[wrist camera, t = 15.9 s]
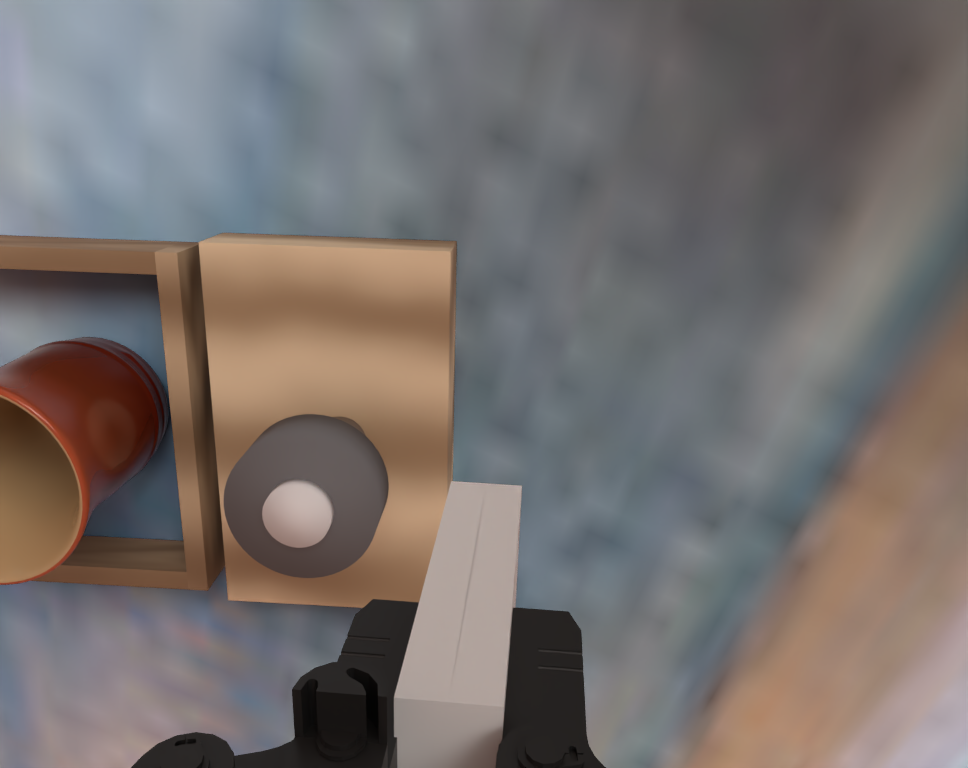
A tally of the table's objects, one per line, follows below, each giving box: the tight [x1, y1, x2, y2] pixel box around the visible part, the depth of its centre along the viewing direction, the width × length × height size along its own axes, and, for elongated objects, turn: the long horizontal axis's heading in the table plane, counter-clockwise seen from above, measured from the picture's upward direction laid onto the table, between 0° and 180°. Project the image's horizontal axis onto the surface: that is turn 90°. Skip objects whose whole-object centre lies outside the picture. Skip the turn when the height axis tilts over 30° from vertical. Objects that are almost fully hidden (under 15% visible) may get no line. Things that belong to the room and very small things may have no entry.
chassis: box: [0, 233, 457, 608], centre depth 38 cm, size 18×22×6 cm
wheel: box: [224, 414, 389, 578], centre depth 32 cm, size 6×6×3 cm
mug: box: [0, 337, 168, 585], centre depth 36 cm, size 12×9×10 cm
